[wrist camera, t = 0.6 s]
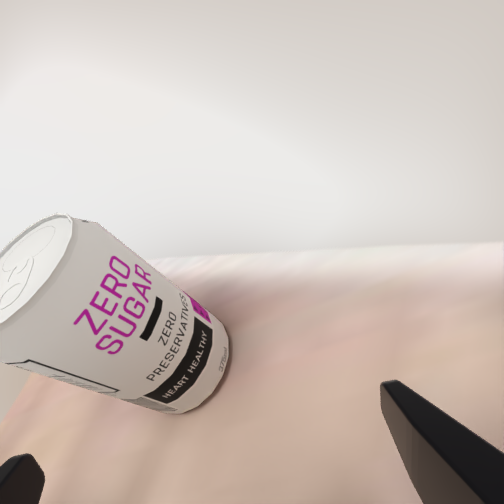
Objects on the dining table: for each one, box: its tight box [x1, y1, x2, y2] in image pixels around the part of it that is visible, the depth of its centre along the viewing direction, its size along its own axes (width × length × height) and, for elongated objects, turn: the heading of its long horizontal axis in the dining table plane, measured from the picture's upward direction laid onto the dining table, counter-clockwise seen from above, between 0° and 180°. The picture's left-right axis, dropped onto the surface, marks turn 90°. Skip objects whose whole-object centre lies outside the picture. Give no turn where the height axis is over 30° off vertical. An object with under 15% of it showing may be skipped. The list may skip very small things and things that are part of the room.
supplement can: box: [0, 213, 229, 414], centre depth 21 cm, size 8×8×15 cm
